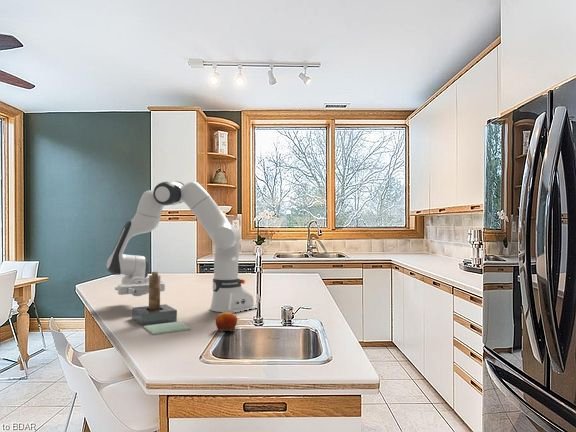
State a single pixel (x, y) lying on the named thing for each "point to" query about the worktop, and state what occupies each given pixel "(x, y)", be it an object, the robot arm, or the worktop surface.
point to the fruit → (226, 321)
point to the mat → (166, 328)
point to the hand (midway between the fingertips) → (146, 290)
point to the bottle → (154, 292)
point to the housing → (154, 315)
